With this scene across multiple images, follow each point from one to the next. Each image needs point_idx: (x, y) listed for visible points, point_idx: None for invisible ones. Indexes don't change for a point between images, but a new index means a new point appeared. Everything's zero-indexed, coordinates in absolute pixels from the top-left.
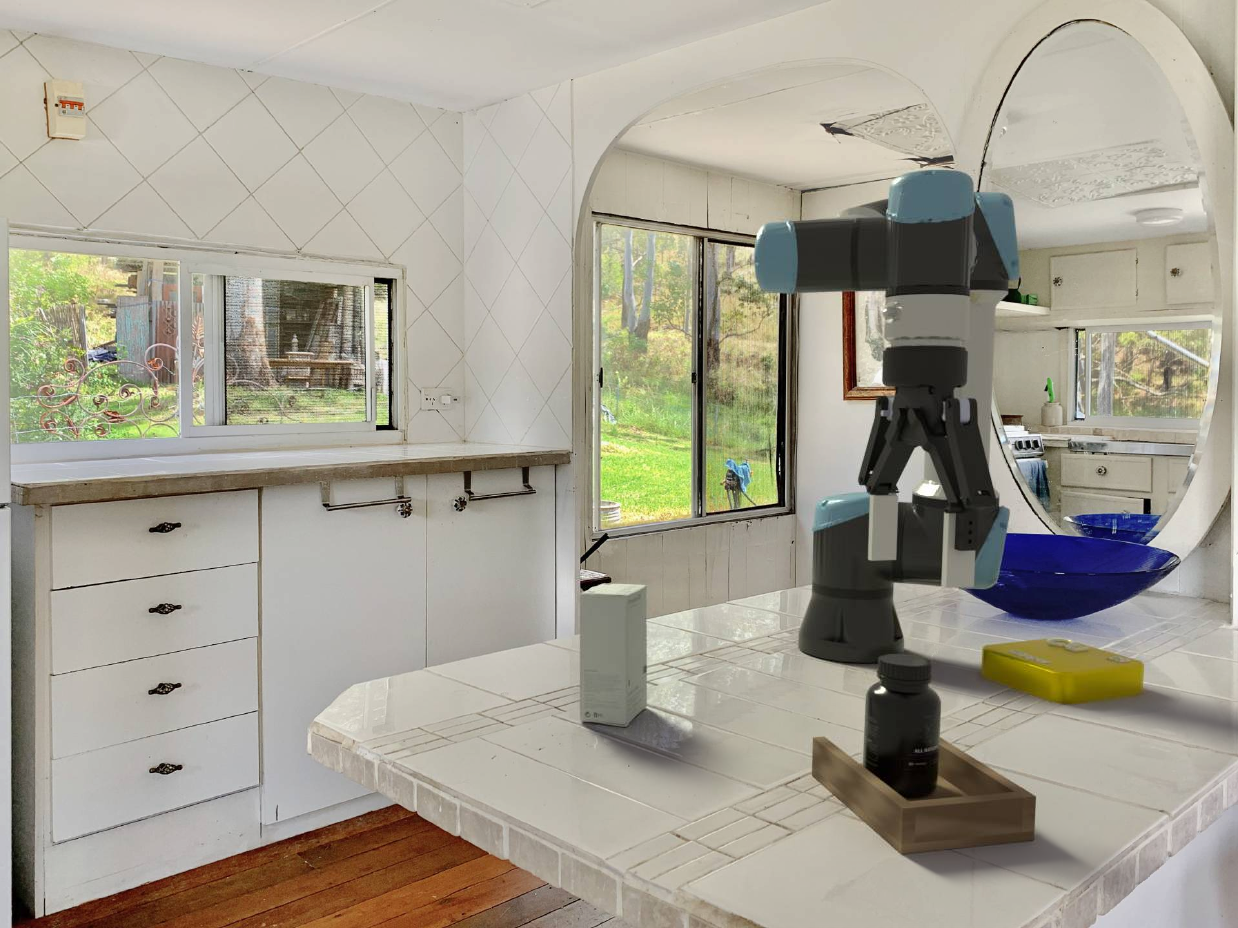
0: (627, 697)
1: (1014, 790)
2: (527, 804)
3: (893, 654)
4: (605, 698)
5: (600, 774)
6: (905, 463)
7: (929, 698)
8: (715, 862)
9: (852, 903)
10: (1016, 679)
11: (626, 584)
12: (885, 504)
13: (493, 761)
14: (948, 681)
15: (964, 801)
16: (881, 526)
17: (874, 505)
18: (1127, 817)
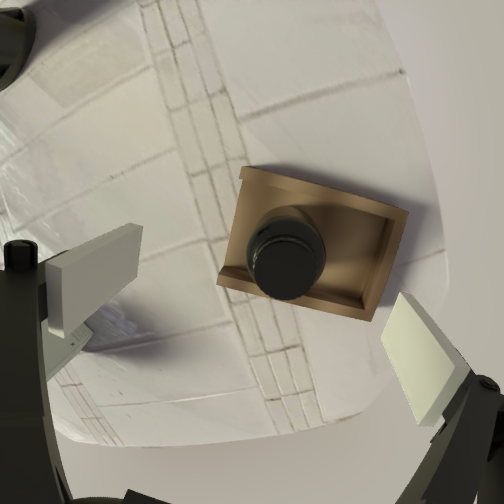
0: (81, 342)
1: (393, 217)
2: (199, 434)
3: (259, 266)
4: (77, 351)
5: (169, 390)
6: (38, 350)
7: (321, 255)
8: (311, 399)
9: (386, 366)
10: None
11: None
12: (76, 296)
13: (135, 419)
14: (89, 6)
15: (387, 272)
16: (104, 283)
17: (78, 324)
18: (400, 105)
